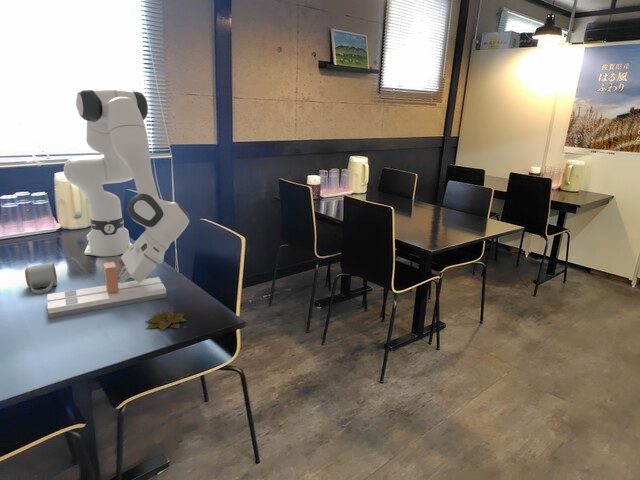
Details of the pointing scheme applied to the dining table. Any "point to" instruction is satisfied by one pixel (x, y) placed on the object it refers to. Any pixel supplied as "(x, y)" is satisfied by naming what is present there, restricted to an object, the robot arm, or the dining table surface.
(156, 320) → the lily flower
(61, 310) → the white slider track base
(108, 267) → the fader
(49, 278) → the ceramic mug
